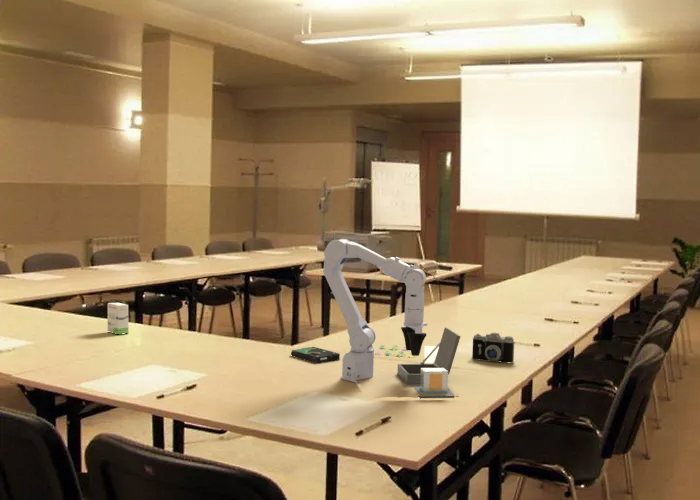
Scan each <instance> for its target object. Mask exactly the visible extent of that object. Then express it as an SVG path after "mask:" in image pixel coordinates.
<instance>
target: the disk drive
mask: <svg viewBox="0 0 700 500" xmlns="http://www.w3.org/2000/svg"><path fill="white" fill-rule="evenodd" d="M291 355H292V356H291ZM340 355H341V354H340V353H338V352H335V351H332V350H328V349H327V350H326V349H325V348H319V347H315V346H308V347H303V348H299V349H298V348H297V349H292V350H291V352H290V356H291V357H293V356H295V357H294V358H296V357H298V358H297V359H300V358H301V360H303V359H305V360H304V361H307V360H308V362H310V361H311V363H313V364H322V362H323V363H328V362H335V360H336V361H340Z"/></svg>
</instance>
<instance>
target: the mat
mask: <svg viewBox="0 0 700 500" xmlns="http://www.w3.org/2000/svg"><path fill="white" fill-rule="evenodd" d="M412 388H413V389H414V390H415V391H416V392H417V393H418V394H419V395H418V396H417V397H418V398H419V399H455V394H454V392H452V391H451V390H450V389H449V388H448V387H447V392H423V391H422V390H421V389H420V385H412Z"/></svg>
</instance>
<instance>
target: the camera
mask: <svg viewBox="0 0 700 500" xmlns="http://www.w3.org/2000/svg"><path fill="white" fill-rule="evenodd" d="M514 339H515V338H513V336H511V335H510V336H509V335H508V336H507V335H505V337H504V336H501V335H500V333H499V332H491V333H490V334H489V333H487V334H485V335H481V334H480V333H477V334H474V335H473V337H472V356H471V359H472V360H477V359H480V360H479V361H485V360H490V361H489V362H494V361H501V362H500V363H502V362H513V363H514V362H515V361H514V360H515V357H514V356H515V341H514Z"/></svg>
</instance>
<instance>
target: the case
mask: <svg viewBox="0 0 700 500" xmlns="http://www.w3.org/2000/svg"><path fill="white" fill-rule="evenodd" d="M460 340H461V335H459V334H458V333H456V332H455V331H453V330H452V329H450V328H448V327H444V329H443V332H442V337H441V339H440V342H438V343H437V345H436V347H435V348H434V349H433V350H432V351H431V353H430V354H429V355H428V356H427V357H426V358H425V357H424V359H423V361H420V363H398V364H397V375H398V376H399V377H400V378H401V379H402V380H403V382H404V383H405V384H406V385H408V386H409V385H412V386H417V385H420V374H421V368H445V369H446V370H447V371H448V375H450V373H451V369H452V366H453V363H454V359H455V355H456V353H457V349H458V346H459V343H460ZM438 347H439V349H438V352H437V355H436V357H435V360H434V362H433V363H425V361H426V360H427V359H428V358H429V357H430V355H431V354H432V353H433V352H434V351H435V350H436V349H437V348H438Z"/></svg>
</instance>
